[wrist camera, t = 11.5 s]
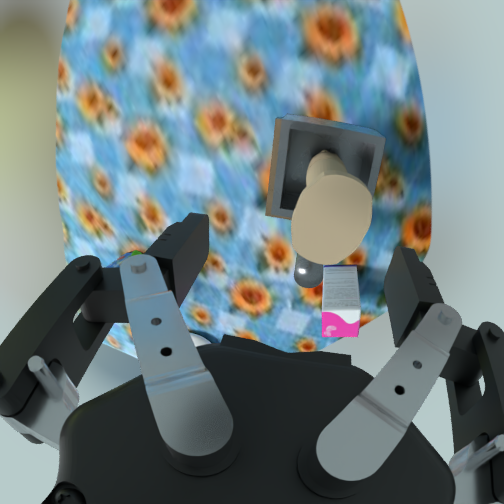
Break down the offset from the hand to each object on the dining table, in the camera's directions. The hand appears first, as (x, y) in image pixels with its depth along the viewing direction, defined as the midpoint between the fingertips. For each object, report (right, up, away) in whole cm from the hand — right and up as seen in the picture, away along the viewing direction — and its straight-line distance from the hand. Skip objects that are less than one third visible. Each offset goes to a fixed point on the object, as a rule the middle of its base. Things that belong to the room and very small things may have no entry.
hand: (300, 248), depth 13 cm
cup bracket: (+8, +12, +30) cm, 33 cm away
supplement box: (+13, -5, +39) cm, 42 cm away
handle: (+6, +10, +19) cm, 22 cm away
